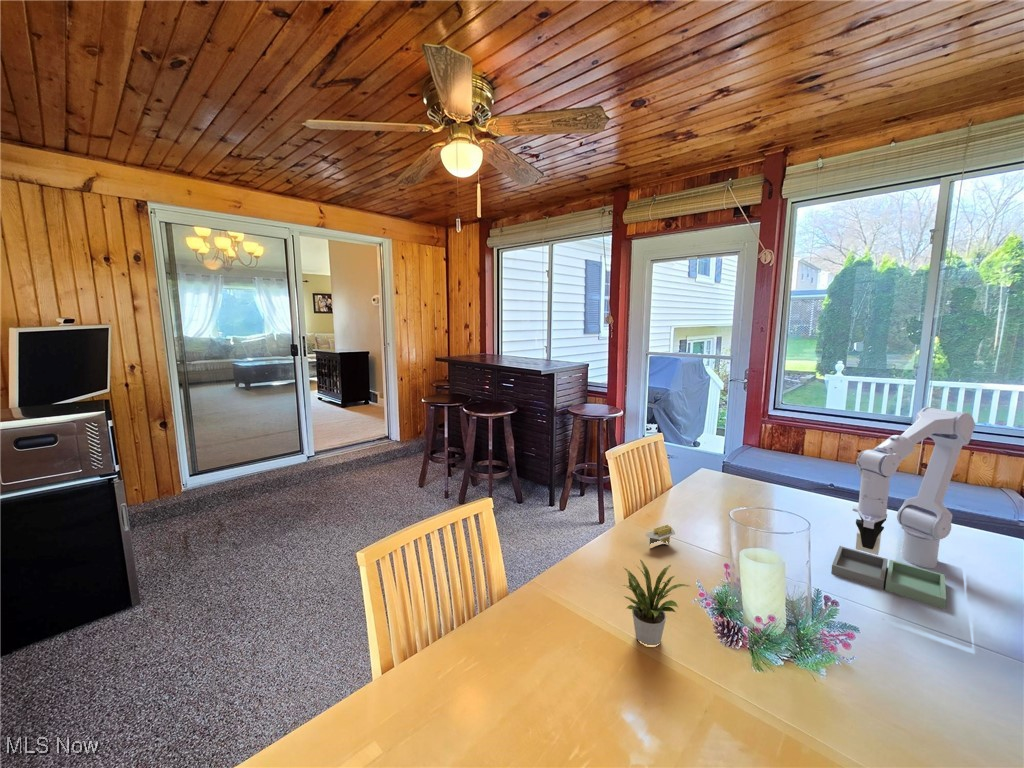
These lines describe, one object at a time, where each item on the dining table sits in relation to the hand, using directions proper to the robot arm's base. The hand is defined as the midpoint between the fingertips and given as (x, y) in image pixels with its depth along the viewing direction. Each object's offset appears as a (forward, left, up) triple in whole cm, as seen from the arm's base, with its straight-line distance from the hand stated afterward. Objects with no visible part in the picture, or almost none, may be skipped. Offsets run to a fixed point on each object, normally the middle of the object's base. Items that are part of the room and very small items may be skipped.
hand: (868, 544), depth 114 cm
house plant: (+61, -31, -9) cm, 69 cm away
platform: (+23, -47, -10) cm, 53 cm away
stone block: (0, 0, -1) cm, 1 cm away
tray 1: (0, -1, -9) cm, 9 cm away
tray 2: (0, +10, -9) cm, 13 cm away
